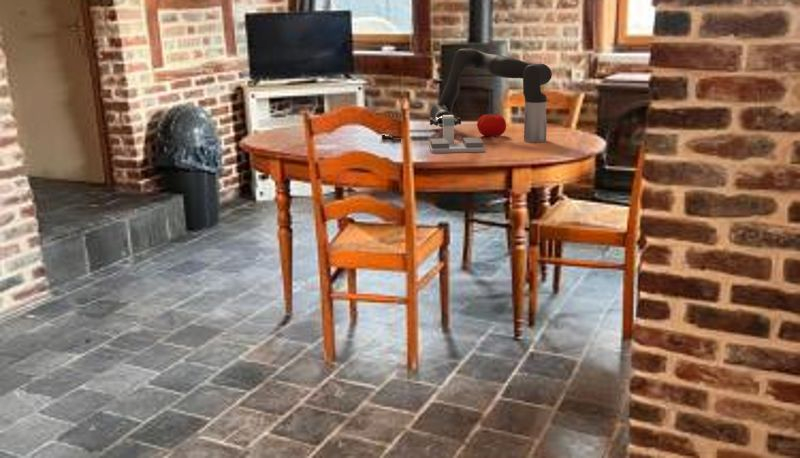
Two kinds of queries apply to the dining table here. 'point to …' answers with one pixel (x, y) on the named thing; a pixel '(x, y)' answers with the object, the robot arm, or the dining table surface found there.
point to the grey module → (448, 128)
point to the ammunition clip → (389, 136)
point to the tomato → (491, 125)
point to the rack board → (456, 145)
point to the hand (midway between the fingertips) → (446, 123)
